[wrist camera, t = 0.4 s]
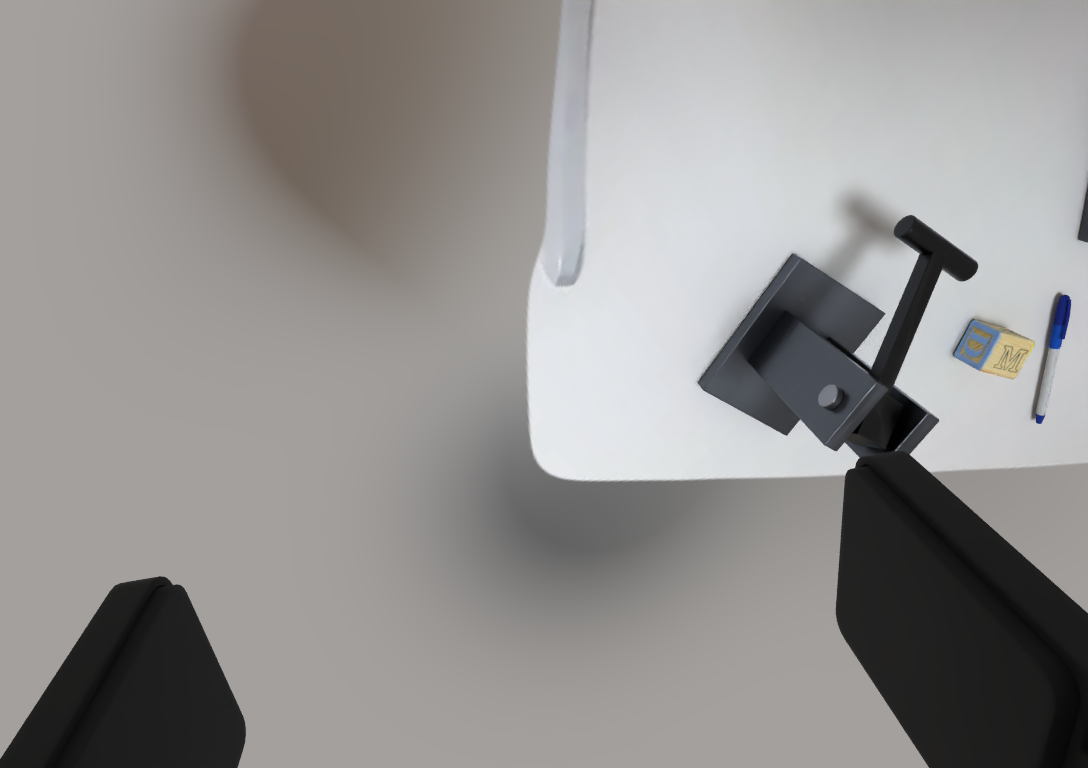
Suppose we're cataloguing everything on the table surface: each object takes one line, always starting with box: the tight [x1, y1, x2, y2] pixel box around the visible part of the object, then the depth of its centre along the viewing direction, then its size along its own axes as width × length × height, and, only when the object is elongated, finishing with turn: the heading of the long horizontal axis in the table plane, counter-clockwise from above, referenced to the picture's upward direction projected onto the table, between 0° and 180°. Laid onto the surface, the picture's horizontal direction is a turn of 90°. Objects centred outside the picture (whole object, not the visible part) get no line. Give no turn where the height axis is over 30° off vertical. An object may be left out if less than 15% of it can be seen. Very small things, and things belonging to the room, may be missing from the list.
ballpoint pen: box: [1036, 295, 1071, 424], centre depth 53 cm, size 10×1×1 cm, turn 9°
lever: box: [847, 215, 978, 449], centre depth 41 cm, size 13×6×2 cm, turn 149°
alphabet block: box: [954, 320, 1035, 379], centre depth 50 cm, size 3×3×3 cm
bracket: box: [698, 254, 939, 458], centre depth 45 cm, size 11×8×13 cm
